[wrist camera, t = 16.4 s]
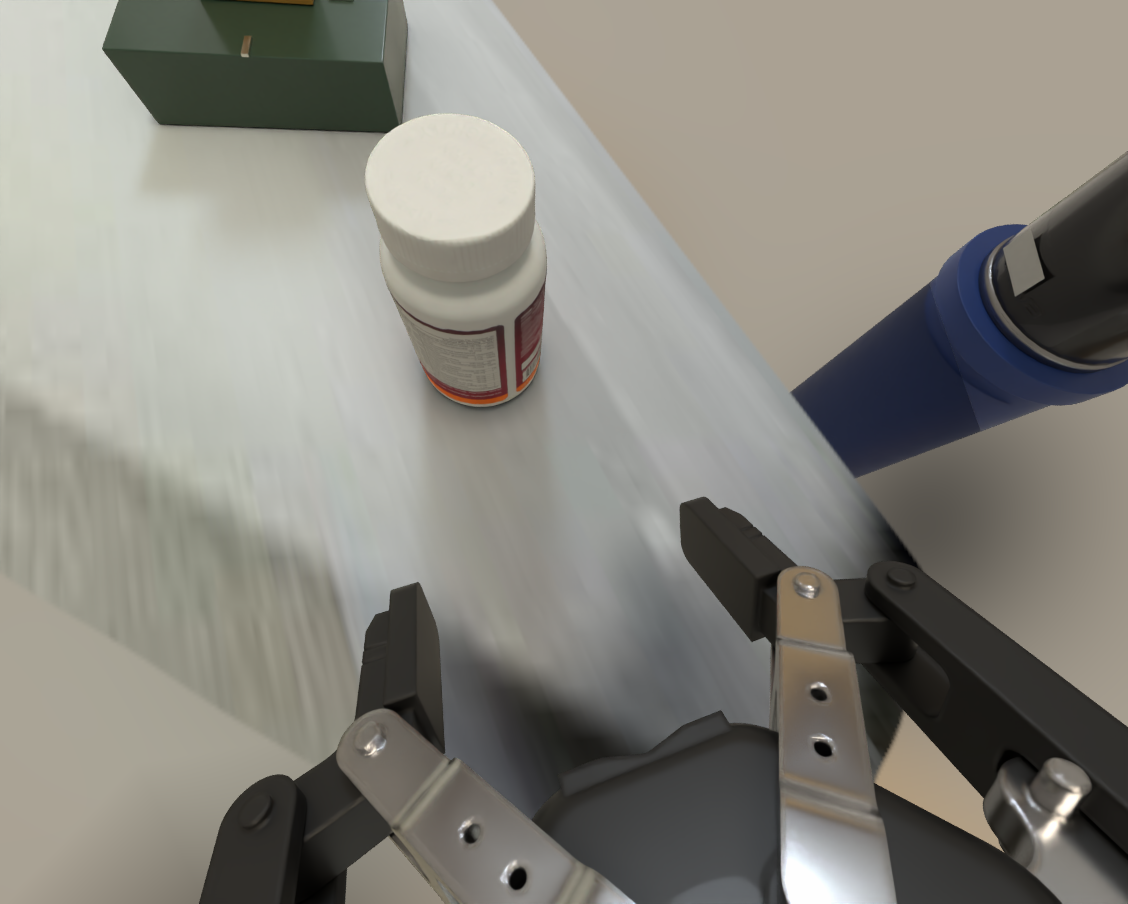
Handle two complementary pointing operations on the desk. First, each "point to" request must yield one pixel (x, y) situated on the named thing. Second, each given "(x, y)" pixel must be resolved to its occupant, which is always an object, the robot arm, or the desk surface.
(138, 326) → the desk surface
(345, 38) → the dark green block
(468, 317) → the pill bottle
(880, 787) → the robot arm
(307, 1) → the mustard yellow slab
